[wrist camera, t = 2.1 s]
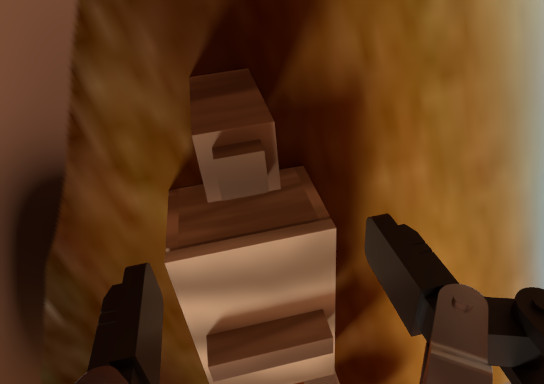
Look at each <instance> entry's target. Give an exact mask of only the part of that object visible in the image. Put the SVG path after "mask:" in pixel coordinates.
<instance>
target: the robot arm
mask: <svg viewBox="0 0 544 384" xmlns="http://www.w3.org/2000/svg"><path fill="white" fill-rule="evenodd" d="M365 254H366V258H367V261H368V263H369V265H370V266H371V268H372V270H373V272H374V273H375V275H376V277H377V278H378V280H379V282H380V284H381V285H382V287H383V289H384V291H385V292H386V294H387V296H388V297H389V299H390V301H391V303H392V304H393V306H394V308H395V309H396V311H397V313H398V315H399V316H400V318H401V320H402V321H403V323H404V325H405V327H406V328H407V330H408V332H409V333H410V335H411V337H412V336H416V335H420V334H423V336H424V338H425V339H426V341H427V342H426V346H425V353H424V359H423V365H422V371H421V377H420V384H492V381H493V374H492V367H491V366H500V367H501V369H502V370H503V372H504V373H505V375H506V376H507V378H508V379H509V381H510V382H511V384H544V289H541V288H535V287H529V288H524V289H521V290H520V291H519V292H518V293H517V294H516V296H515V299H510V298H491V297H484V296H483V295H482V294H481V293H480V292H478V291H477V290H475V289H473V288H472V287H469V286H466V285H463V284H459V283H458V282H457V280H456V279H455V278H454V277H453V275H452V274H451V273H450V272H449V270H448V269H447V268H446V267H445V266H444V264H443V263H442V262H441V261H440V259H439V258H438V257H437V256H436V255H435V253H434V252H432V250H431V248H430V247H429V246H428V245H427V244H426V243H425V241H424V240H423V239H422V237H421V236H420V235H419V234H418V232H417V231H415V230H413V229H412V228H410V227H409V226H407V225H405V224H402V225H397V223H396V222H395V221H394V220H393V218H392V217H391V216H390V215H389V214H382V215H377V216H372V217H368V218H367V221H366V234H365ZM162 325H163V298H162V294H161V290H160V288H159V285H158V283H157V281H156V278H155V276H154V273H153V271H152V268H151V266H150V264H149V263H144V264H139V265H134V266H129V267H126V268H125V271H124V277H123V282H122V283H121V284H117V285H112V287H111V288H110V290H109V291H108V293H107V294H106V296H105V297H104V299H103V303H102V308H101V315H100V317H99V321H98V326H97V330H96V335H95V339H94V344H93V348H92V353H91V357H90V362H89V366H88V370H87V373H86V374H84V375H83V376H82V377H81V378H80V379H79V380H78V381H77V382H76V384H159V382H160V363H161V344H162Z"/></svg>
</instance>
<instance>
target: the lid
mask: <svg viewBox="0 0 544 384" xmlns="http://www.w3.org/2000/svg"><path fill="white" fill-rule="evenodd" d="M165 265H166V268H167V271H168V273H169V276H170V279H171V281H172V284H173V287H174V289H175V292H176V295H177V298H178V300H179V303H180V306H181V308H182V311H183V314H184V316H185V319H186V322H187V324H188V327H189V330H190V332H191V335H192V338H193V341H194V343H195V346H196V349H197V351H198V354H199V357H200V359H201V362H202V365H203V367H204V370H205V373H206V375H207V378H208V381H209V383H210V384H296V383H300V382H304V381H308V380H312V379H316V378H320V377H324V376H328V375H332V374H334V361H335V285H336V227H335V225H334V223H333V221H332V219H327V220H322V221H317V222H312V223H307V224H302V225H297V226H292V227H287V228H282V229H277V230H272V231H267V232H262V233H257V234H252V235H247V236H242V237H237V238H232V239H228V240H223V241H218V242H213V243H208V244H203V245H198V246H193V247H188V248H183V249H178V250H173V251H168V252H165Z"/></svg>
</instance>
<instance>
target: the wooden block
mask: <svg viewBox="0 0 544 384" xmlns="http://www.w3.org/2000/svg"><path fill="white" fill-rule="evenodd" d="M189 79H190V104H191V129H192V139H193V143H194V147H195V151H196V155H197V159H198V164H199V168H200V172H201V176H202V180H203V184H204V188H205V192H206V197H207V201H208V203H209V202H215V201H220V200H222V201H225V200H230V199H235V198H241V197H246V196H251V195H257V194H262V193H267V192H269V191H273V190H278V189H281V185H280V175H279V164H278V154H277V143H276V132H275V122H274V120H273V118H272V116H271V114H270V112H269V109H268V107H267V105H266V103H265V101H264V99H263V97H262V95H261V93H260V91H259V89H258V87H257V85H256V83H255V81H254V79H253V77H252V75H251V73H250V71H249V69H248V68H246V69H240V70H233V71H226V72H220V73H213V74H207V75H200V76H194V77H189Z"/></svg>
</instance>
